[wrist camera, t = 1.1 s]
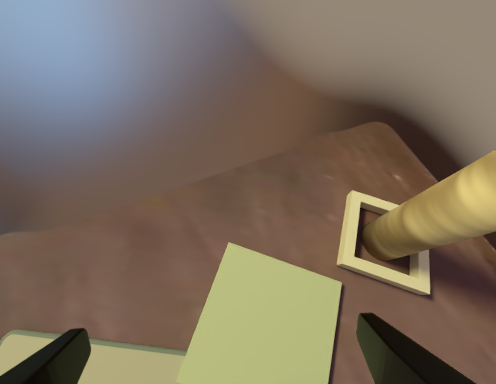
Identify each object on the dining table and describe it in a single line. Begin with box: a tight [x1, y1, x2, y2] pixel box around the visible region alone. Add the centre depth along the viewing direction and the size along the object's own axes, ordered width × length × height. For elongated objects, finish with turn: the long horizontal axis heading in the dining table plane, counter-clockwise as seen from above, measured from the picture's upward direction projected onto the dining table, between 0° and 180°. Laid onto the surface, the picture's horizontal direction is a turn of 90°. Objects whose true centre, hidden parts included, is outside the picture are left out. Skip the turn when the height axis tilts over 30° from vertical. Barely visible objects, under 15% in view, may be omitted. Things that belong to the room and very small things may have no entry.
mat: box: [176, 242, 342, 384], centre depth 19 cm, size 11×11×1 cm
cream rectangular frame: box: [337, 190, 430, 295], centre depth 23 cm, size 8×8×1 cm
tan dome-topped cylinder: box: [361, 150, 496, 261], centre depth 18 cm, size 4×4×13 cm
